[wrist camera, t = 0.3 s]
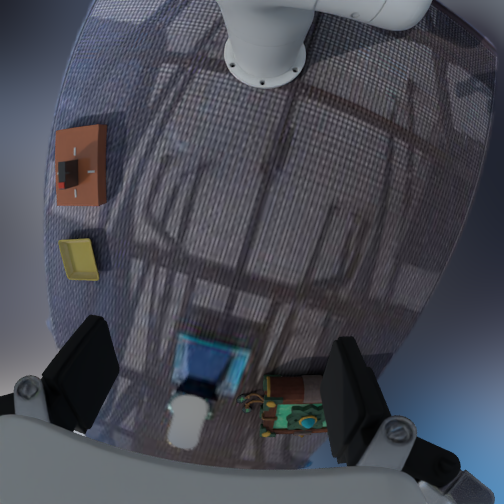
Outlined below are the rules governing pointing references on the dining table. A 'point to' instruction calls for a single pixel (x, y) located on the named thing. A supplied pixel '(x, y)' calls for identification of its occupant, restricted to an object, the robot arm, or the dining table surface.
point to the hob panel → (83, 164)
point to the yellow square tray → (79, 259)
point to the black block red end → (68, 174)
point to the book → (289, 406)
